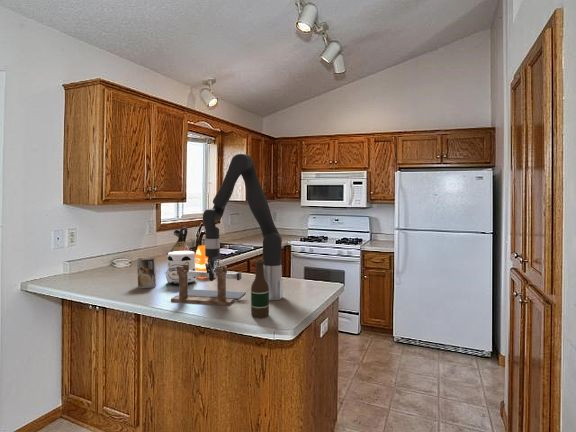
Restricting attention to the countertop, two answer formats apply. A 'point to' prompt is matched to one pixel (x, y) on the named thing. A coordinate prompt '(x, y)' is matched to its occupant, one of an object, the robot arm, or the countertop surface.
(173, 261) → the milk container
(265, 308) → the beer bottle
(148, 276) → the coffee box
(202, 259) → the orange juice
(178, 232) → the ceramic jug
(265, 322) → the countertop surface
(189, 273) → the steel rail
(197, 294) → the grey long flat board
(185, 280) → the walnut rack
